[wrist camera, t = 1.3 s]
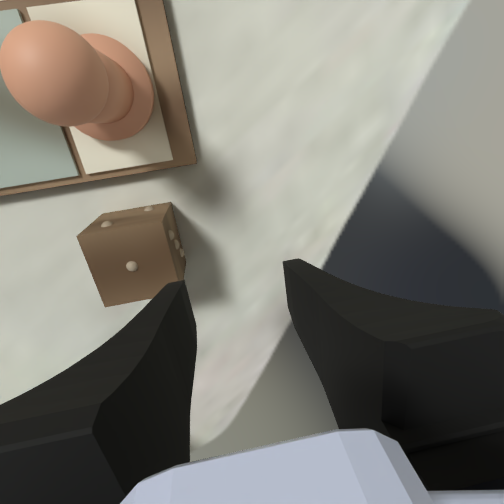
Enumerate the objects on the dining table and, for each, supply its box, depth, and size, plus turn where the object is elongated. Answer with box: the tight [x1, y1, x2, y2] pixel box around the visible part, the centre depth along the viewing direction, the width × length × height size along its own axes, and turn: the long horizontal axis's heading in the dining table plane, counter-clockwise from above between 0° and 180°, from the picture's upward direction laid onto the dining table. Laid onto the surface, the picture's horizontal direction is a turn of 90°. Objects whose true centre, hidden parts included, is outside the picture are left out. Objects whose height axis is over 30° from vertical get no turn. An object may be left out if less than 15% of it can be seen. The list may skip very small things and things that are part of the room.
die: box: [77, 202, 186, 307], centre depth 17 cm, size 4×4×4 cm
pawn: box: [0, 20, 154, 141], centre depth 12 cm, size 4×4×7 cm
